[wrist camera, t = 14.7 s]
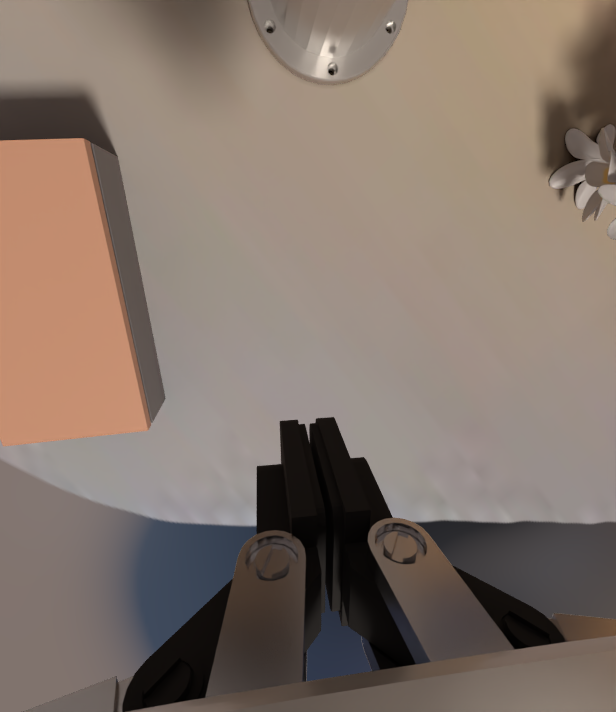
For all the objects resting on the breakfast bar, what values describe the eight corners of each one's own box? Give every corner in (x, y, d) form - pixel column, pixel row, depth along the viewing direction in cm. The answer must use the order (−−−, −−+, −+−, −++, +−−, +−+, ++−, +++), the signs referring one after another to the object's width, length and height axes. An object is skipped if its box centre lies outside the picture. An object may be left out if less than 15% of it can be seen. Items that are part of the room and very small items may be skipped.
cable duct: (-28, 161, 29) (-82, 148, 25) (117, 156, 30) (92, 142, 26) (50, 410, 36) (19, 437, 32) (165, 398, 38) (152, 422, 33)
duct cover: (-95, 147, 24) (-109, 143, 23) (89, 141, 25) (83, 138, 24) (10, 439, 31) (3, 446, 30) (151, 424, 32) (147, 430, 32)
